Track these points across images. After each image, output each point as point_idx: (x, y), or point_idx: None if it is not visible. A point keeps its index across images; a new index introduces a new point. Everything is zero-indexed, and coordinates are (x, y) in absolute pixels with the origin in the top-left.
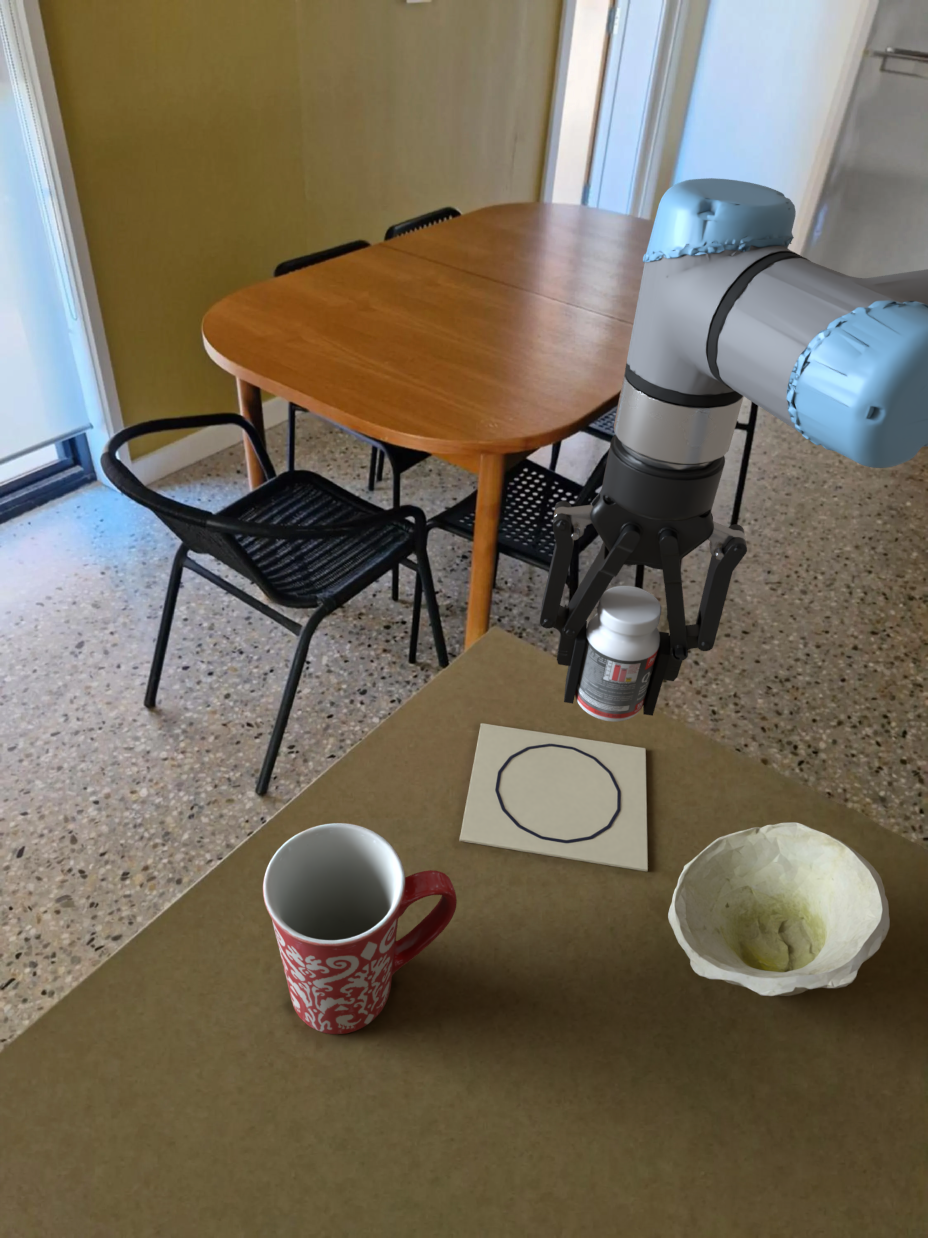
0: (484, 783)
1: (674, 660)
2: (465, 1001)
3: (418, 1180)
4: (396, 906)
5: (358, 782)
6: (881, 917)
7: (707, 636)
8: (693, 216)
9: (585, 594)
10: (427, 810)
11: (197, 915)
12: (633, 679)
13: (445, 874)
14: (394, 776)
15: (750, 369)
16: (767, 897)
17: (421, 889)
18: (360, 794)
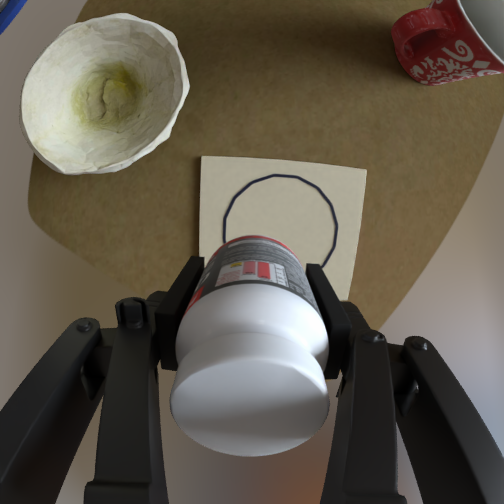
0: (347, 232)
1: (150, 313)
2: (345, 39)
3: None
4: None
5: (436, 224)
6: (27, 75)
7: (73, 338)
8: None
9: (391, 416)
10: (390, 200)
11: (494, 115)
12: (226, 266)
13: (421, 27)
14: (414, 233)
15: None
16: (106, 129)
17: (437, 11)
18: (435, 212)
